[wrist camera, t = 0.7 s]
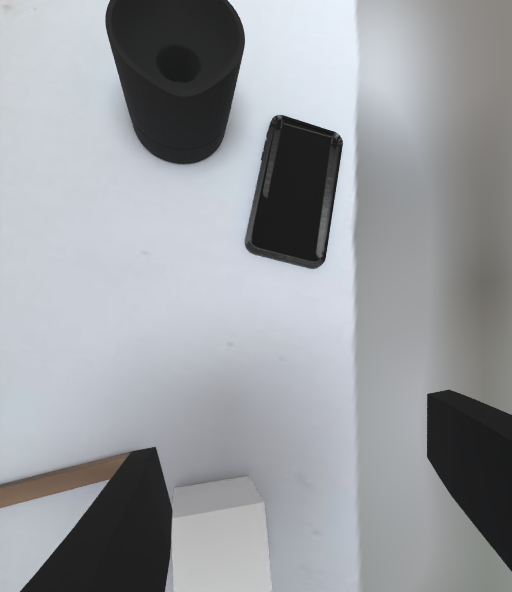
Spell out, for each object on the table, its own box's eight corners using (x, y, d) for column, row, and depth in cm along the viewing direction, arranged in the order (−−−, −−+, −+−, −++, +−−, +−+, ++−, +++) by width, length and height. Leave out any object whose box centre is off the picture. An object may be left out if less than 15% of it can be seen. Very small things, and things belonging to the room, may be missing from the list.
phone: (344, 134, 36) (324, 269, 33) (339, 141, 37) (319, 272, 34) (272, 111, 35) (242, 248, 32) (269, 119, 36) (240, 252, 33)
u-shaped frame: (162, 644, 25) (160, 667, 23) (-52, 726, 22) (-74, 760, 20) (136, 450, 27) (132, 456, 25) (-62, 500, 24) (-83, 511, 22)
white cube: (177, 573, 26) (174, 631, 20) (173, 487, 27) (169, 518, 22) (255, 557, 27) (273, 607, 22) (249, 475, 29) (264, 502, 23)
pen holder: (191, 188, 33) (194, 112, 23) (107, 128, 32) (74, 26, 23) (246, 122, 35) (269, 29, 26) (169, 66, 35) (162, -49, 25)
